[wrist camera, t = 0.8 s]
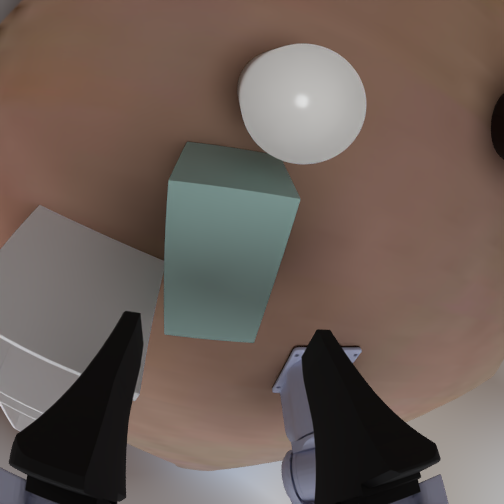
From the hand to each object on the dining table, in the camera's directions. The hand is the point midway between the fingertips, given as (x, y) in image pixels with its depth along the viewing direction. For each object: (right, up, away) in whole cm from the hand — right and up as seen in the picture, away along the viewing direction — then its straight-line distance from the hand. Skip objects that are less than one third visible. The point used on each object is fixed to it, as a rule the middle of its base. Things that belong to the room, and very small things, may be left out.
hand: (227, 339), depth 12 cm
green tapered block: (-1, +6, +8) cm, 10 cm away
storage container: (-17, -4, +14) cm, 22 cm away
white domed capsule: (+3, +13, +3) cm, 13 cm away
